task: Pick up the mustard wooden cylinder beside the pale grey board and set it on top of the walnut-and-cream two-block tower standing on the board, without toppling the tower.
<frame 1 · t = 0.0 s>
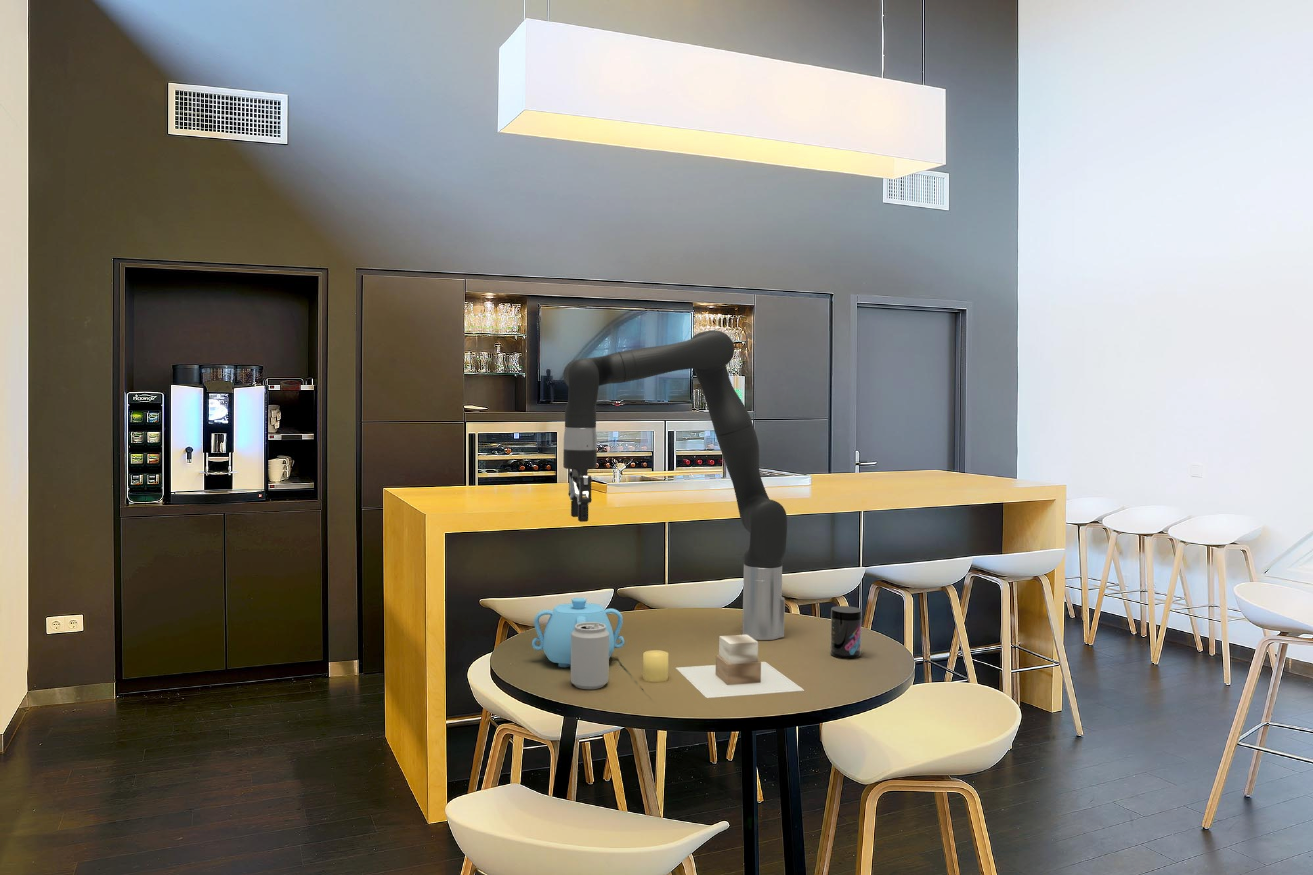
hand: (579, 519, 210), 29 cm above the table, fingers open, 8 cm apart
supplement container: (845, 656, 208), on the table
bottom block: (737, 678, 186), point 1 cm above the table, touching board, top block
can: (589, 685, 184), on the table
cylinder: (655, 683, 186), on the table
decorative pot: (578, 661, 201), on the table
top block: (738, 658, 186), point 5 cm above the table, touching bottom block
board: (737, 683, 186), on the table
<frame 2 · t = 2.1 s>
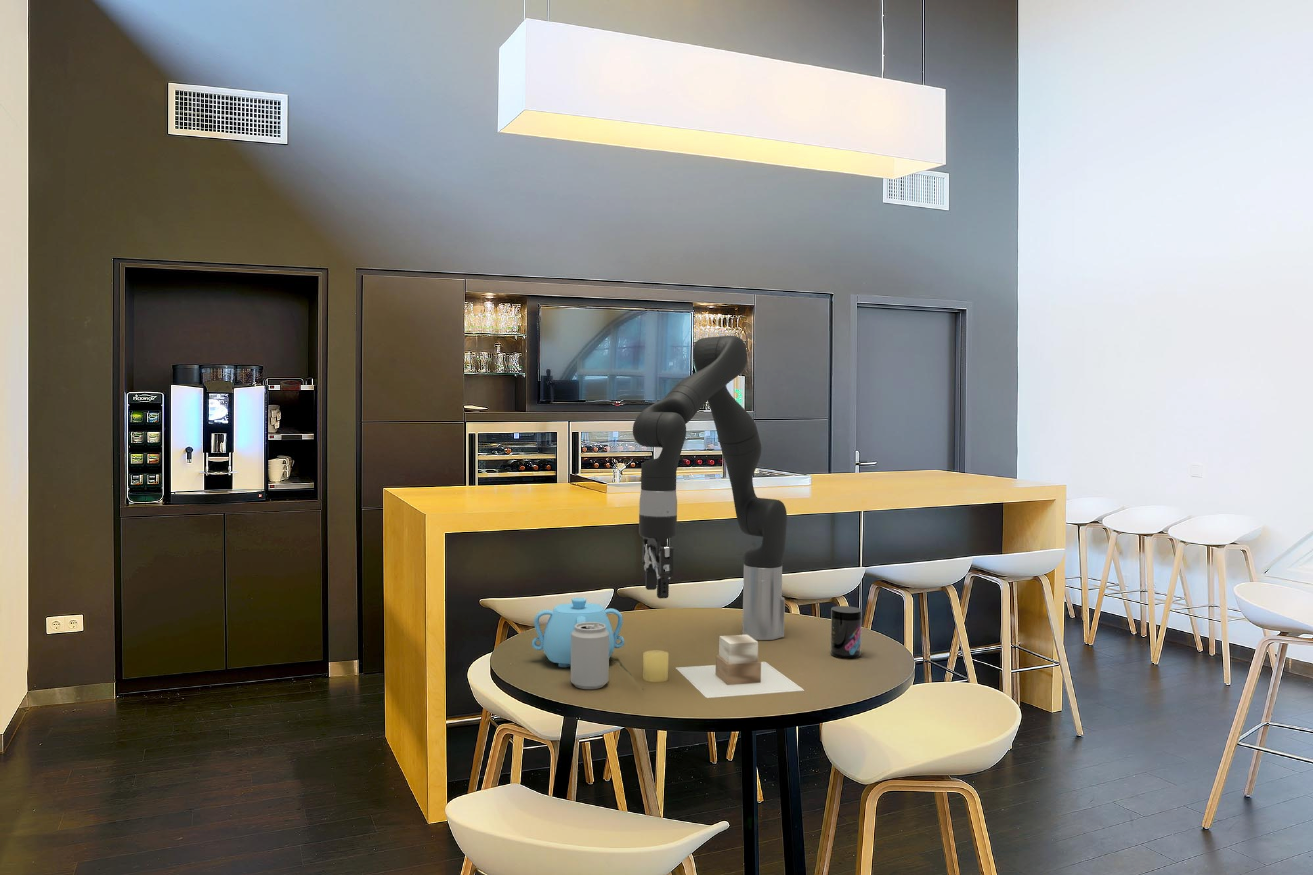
hand: (656, 593, 185), 18 cm above the table, fingers open, 8 cm apart
nothing on the table moved.
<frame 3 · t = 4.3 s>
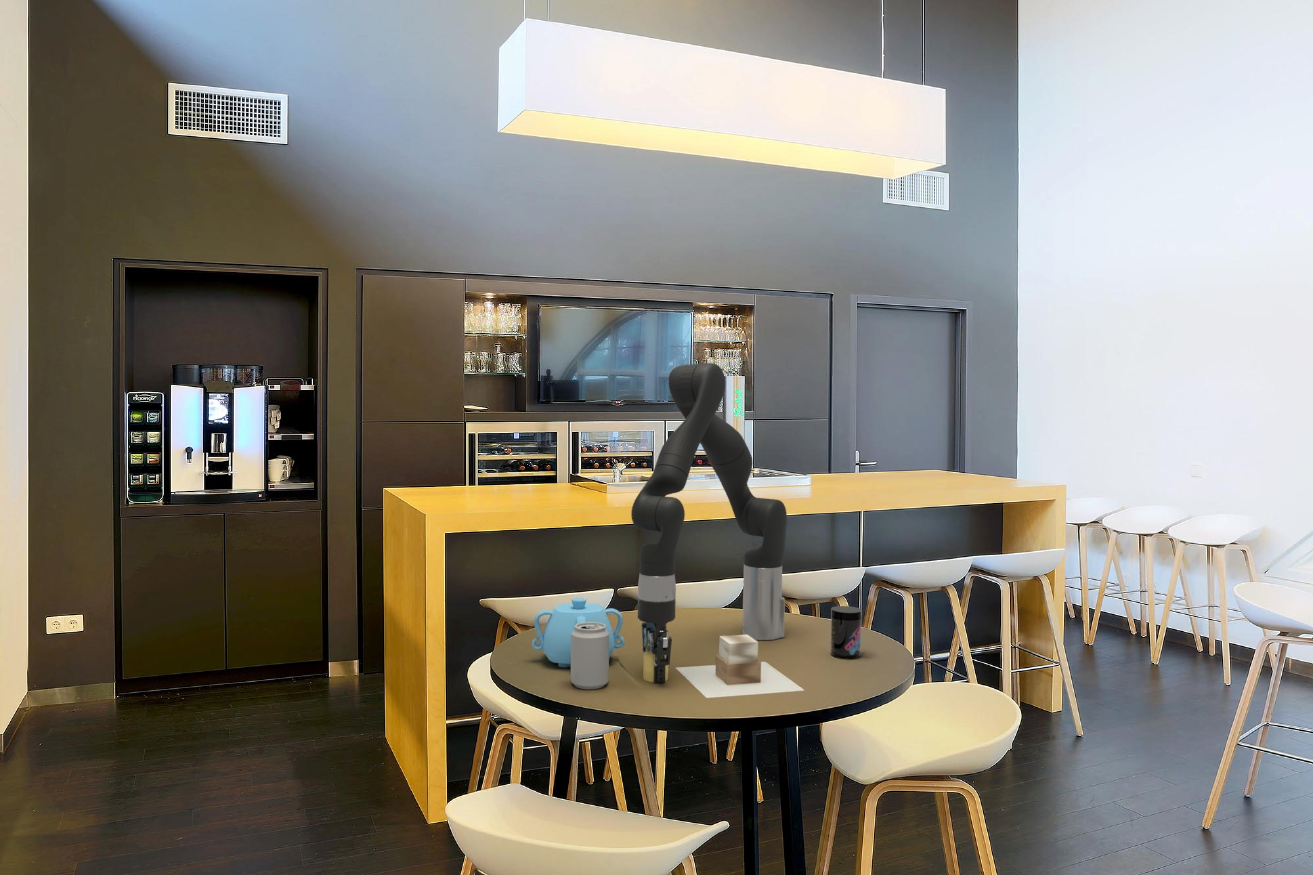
hand: (655, 679, 186), 1 cm above the table, fingers closed on cylinder, 5 cm apart
cylinder: (655, 683, 186), on the table, touching gripper
everything else where it was.
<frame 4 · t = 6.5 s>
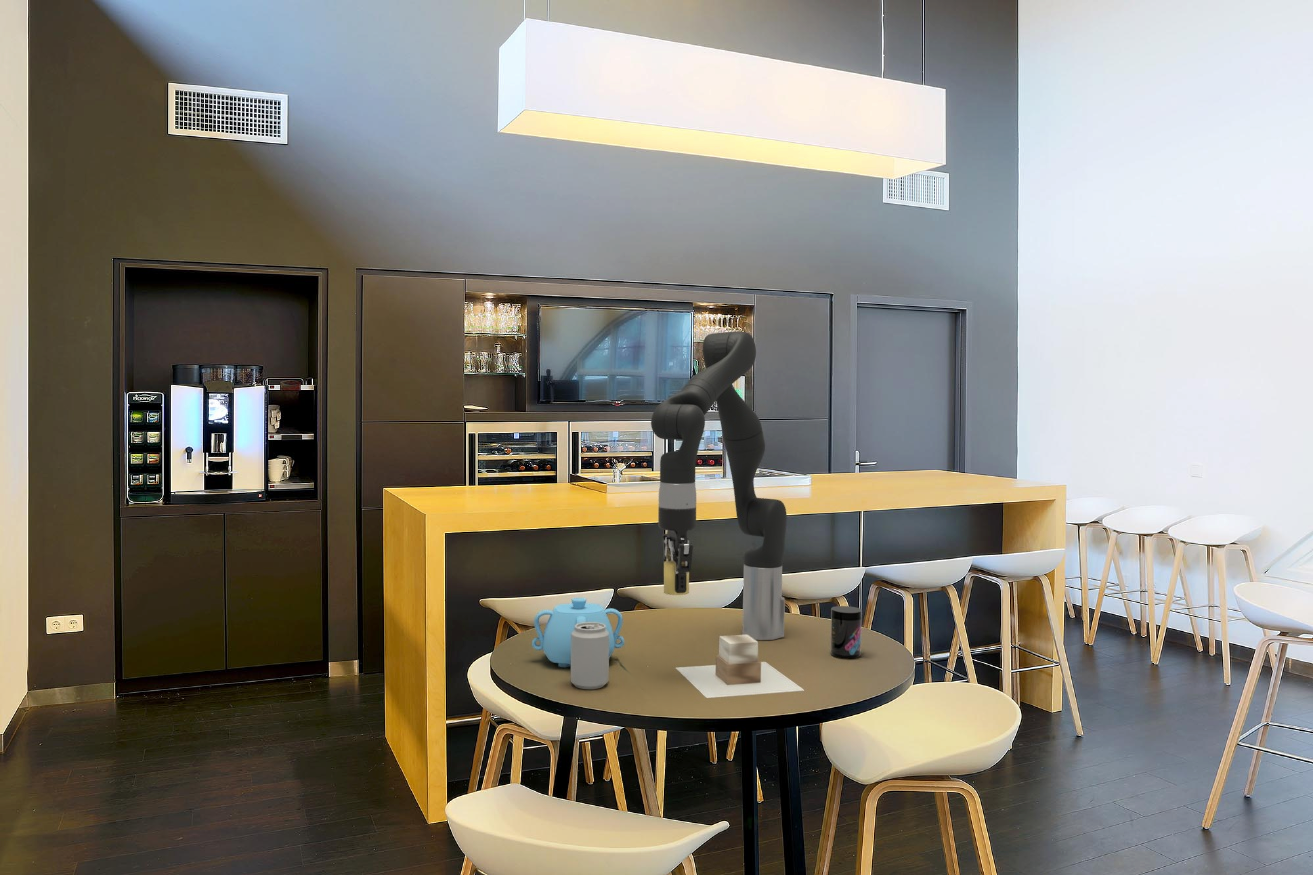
hand: (676, 589, 185), 19 cm above the table, fingers closed on cylinder, 5 cm apart
cylinder: (676, 592, 185), point 18 cm above the table, touching gripper
everything else where it was.
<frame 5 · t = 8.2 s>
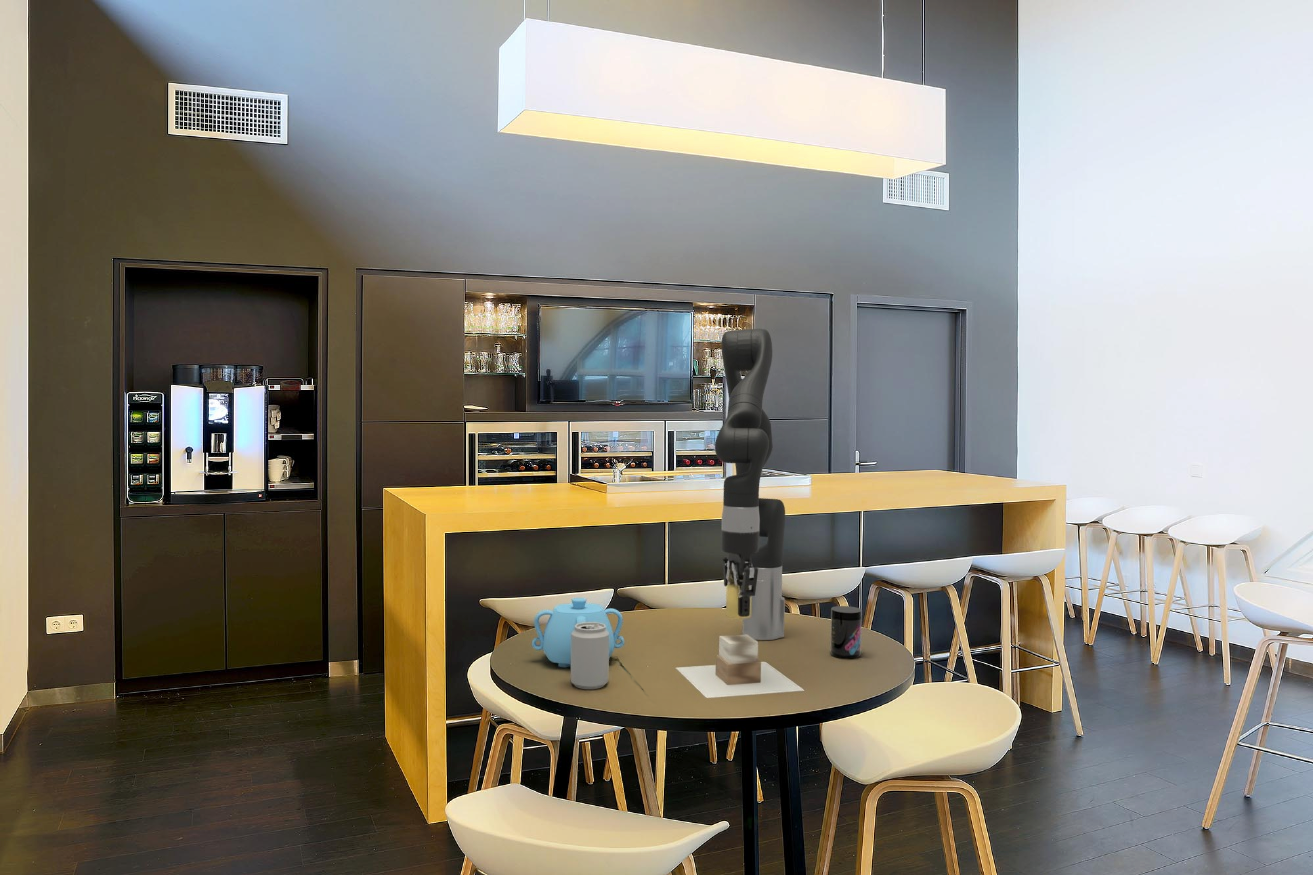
hand: (738, 612, 185), 14 cm above the table, fingers closed on cylinder, 5 cm apart
cylinder: (738, 615, 185), point 14 cm above the table, touching gripper
everything else where it was.
when the fingers open (11 cm above the table, at t = 9.2 s): cylinder drops 2 cm, resting on top block.
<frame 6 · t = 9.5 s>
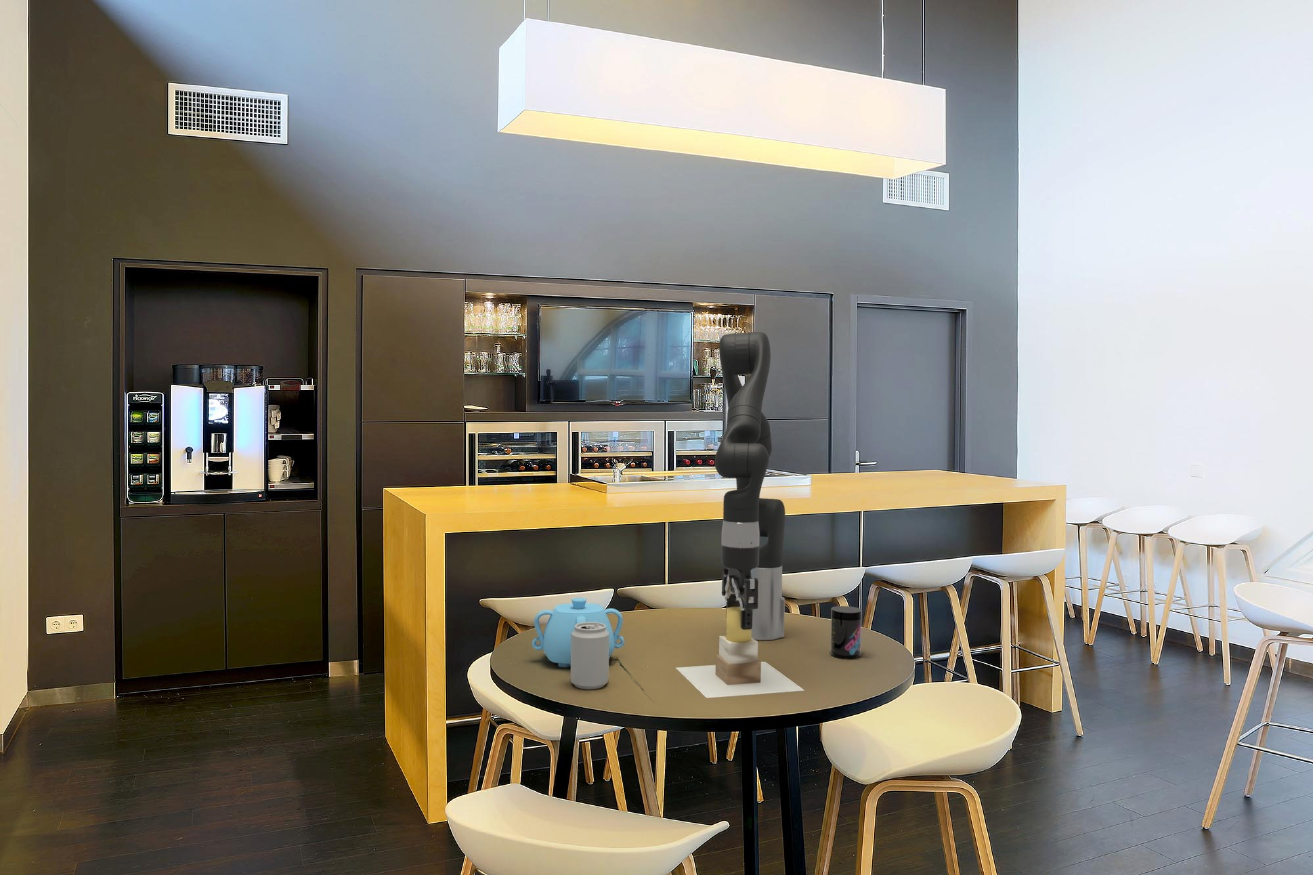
hand: (738, 624, 186), 12 cm above the table, fingers open, 8 cm apart
cylinder: (738, 639, 186), point 9 cm above the table, touching top block
top block: (738, 658, 186), point 5 cm above the table, touching bottom block, cylinder
everything else where it was.
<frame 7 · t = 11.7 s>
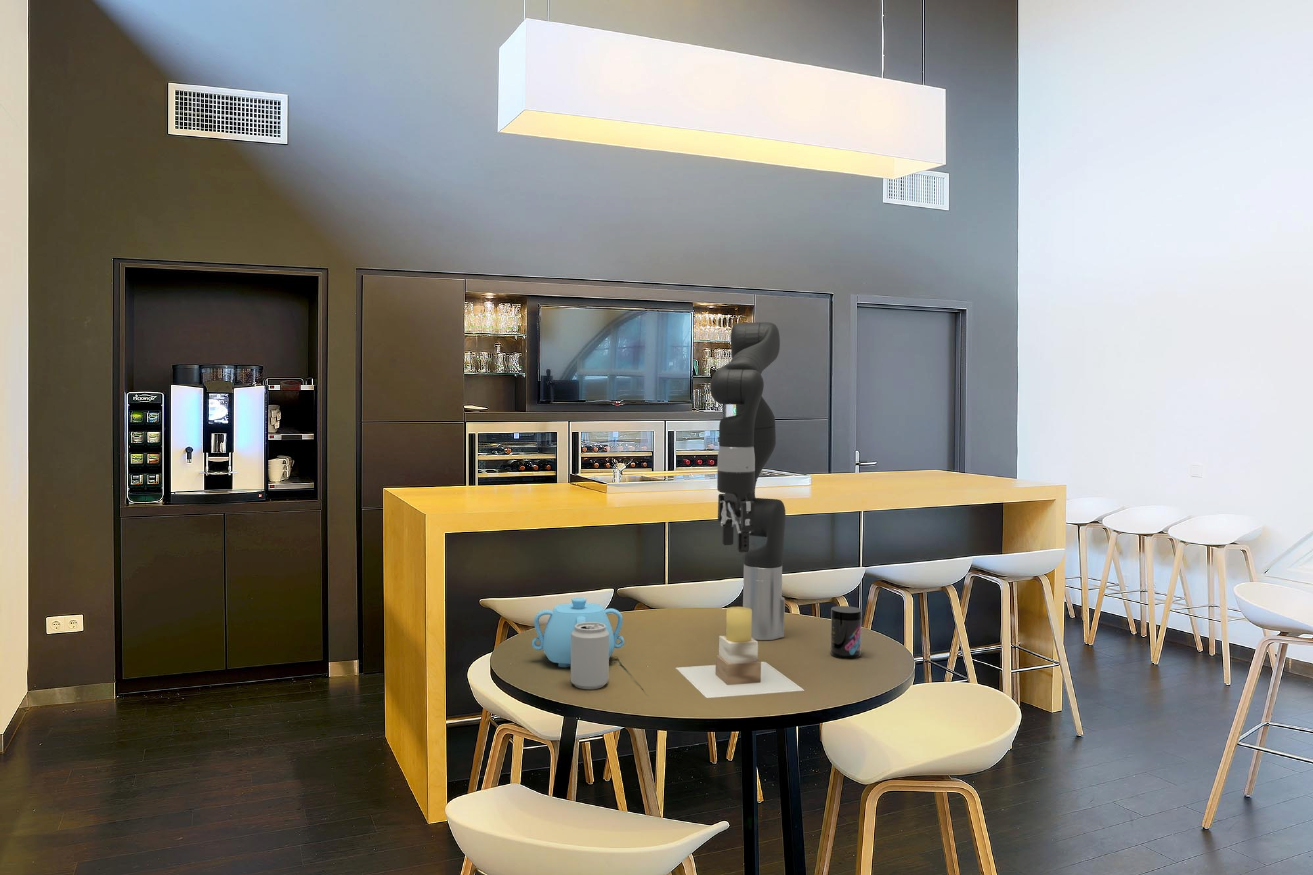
hand: (735, 548, 188), 27 cm above the table, fingers open, 8 cm apart
nothing on the table moved.
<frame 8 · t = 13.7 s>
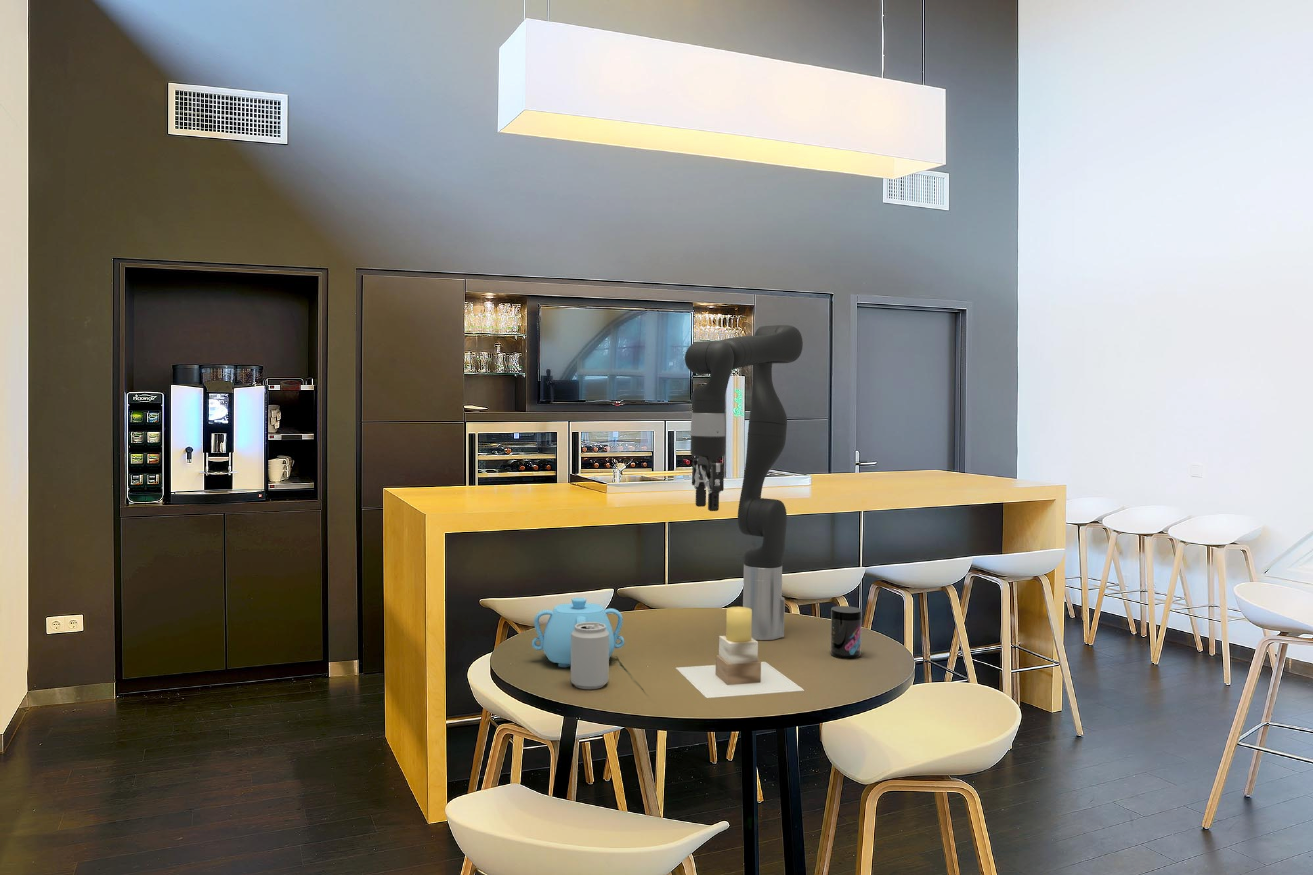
hand: (706, 508, 202), 33 cm above the table, fingers open, 8 cm apart
nothing on the table moved.
at the end: cylinder 0.1 cm off-centre on the top block, point 4.0 cm above the top block's base; top block 0.0 cm off-centre on the bottom block, point 4.0 cm above the bottom block's base; cylinder tilted 0° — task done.
